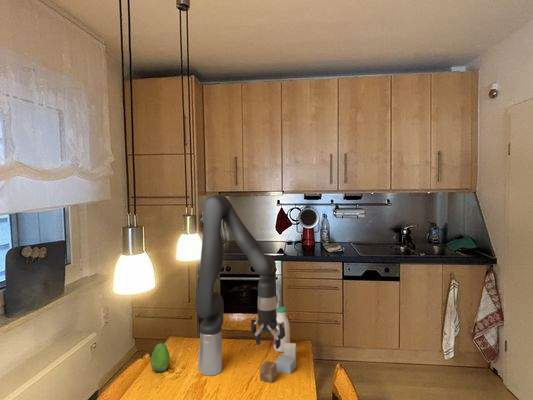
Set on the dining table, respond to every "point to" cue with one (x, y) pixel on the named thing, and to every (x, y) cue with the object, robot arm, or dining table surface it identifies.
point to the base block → (285, 364)
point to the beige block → (290, 349)
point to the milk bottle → (282, 318)
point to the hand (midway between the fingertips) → (268, 346)
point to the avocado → (160, 358)
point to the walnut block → (268, 371)
